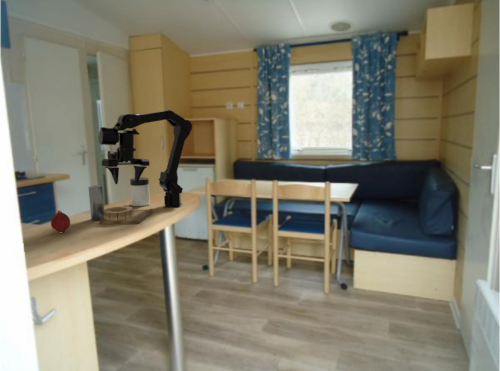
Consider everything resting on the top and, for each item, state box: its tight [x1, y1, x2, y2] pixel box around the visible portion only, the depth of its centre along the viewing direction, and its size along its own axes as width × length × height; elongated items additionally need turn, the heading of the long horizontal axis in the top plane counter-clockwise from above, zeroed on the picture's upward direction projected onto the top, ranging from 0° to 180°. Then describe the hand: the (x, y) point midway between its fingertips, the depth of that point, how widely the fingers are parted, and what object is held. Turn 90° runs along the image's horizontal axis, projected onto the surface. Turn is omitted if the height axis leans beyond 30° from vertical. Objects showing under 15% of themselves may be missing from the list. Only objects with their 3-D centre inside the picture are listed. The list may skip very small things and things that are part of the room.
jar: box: [129, 177, 151, 207], centre depth 164 cm, size 9×8×12 cm
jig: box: [99, 205, 153, 225], centre depth 140 cm, size 15×18×4 cm
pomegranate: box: [50, 209, 71, 233], centre depth 121 cm, size 6×6×8 cm
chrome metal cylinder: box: [88, 184, 105, 222], centre depth 138 cm, size 5×5×13 cm
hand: (126, 183), depth 147 cm, fingers open, 9 cm apart
